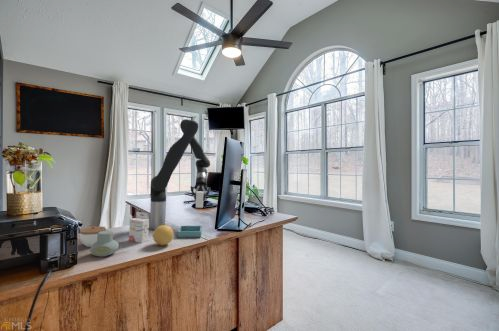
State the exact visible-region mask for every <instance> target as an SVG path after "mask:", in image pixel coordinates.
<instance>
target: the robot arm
mask: <svg viewBox="0 0 499 331" xmlns="http://www.w3.org/2000/svg"><path fill="white" fill-rule="evenodd" d="M179 127H180V130H181V132H182V136H181V137H179V139H178V140H177V141H176V142H174V143H173V144H171V146H170V148H169V149H168V151H167V153H166V155H165V158H164V160H163V164H162V167H161V168H160V170H159V172H158V174H156V176H154V177H152V178H151V180H150V193H149V194H150V195H149V196H150V209H149V210H150V211H149V212H150V213H148V214H149V228H148V230H155V229H156V228H157V227H159V226H161V225H166V211H167V210H166V209H167V195H166V194H167V192H166V188H168V185H169V182H170V180H171V177H172V175H173V173H174V171H175V170H176V168H177V166H178V165H179V163H180V161H181V160H182V157H183V156H184V154H185V152H186V151H187V148H188V146H190V147H191V150H192V152H193V155H194V157H195V159H196V161H195V167H196V176H195V177H196V178H195V185H194V186H190V192H191V195H192V196H193V197H194V198H193V199H194V201H196V192H197V191H202V192H204V194H203V202H204V201H205V200H206V197H208V196H209V194H210V192H211V191H212V190H211V186H207V184H208V183H207V181H208V170H207V168H209V167H210V166H211V163H210V162H211V161H210V160H209V158H208V157H207V155H206V154H205V152H204V150H203V147H202V145H201V143H200V142H199V140H197V138H196V134H197V133H198V131H199V123H198V121H195V120H193V119H188V118H187V119H186V118H185V119H183V120H181V122H180V124H179ZM194 190H195V192H194ZM206 190H207V191H206Z"/></svg>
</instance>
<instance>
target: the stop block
mask: <svg viewBox="0 0 499 331" xmlns="http://www.w3.org/2000/svg"><path fill="white" fill-rule="evenodd" d="M203 194H204V192H202V191H197V192H196V200H195V208H197V209H198V208H200V209H201V208H203V207H204V201H203Z"/></svg>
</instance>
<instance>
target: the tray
mask: <svg viewBox="0 0 499 331" xmlns="http://www.w3.org/2000/svg"><path fill="white" fill-rule="evenodd" d="M202 231H203V225H181V226H180V228H179V230H177V239H185V238H184V237H202Z"/></svg>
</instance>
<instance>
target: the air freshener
mask: <svg viewBox="0 0 499 331" xmlns="http://www.w3.org/2000/svg"><path fill="white" fill-rule="evenodd" d="M113 238H114V231H112V230H111V229H110V230H108V229H106V231H101V232H99V233H98V237H97V242H96V243H94V244H93V245H92V246H91V247H90V249H89V252H90V253H91V254H92V255H93V256H95V257H99V258H104V257H108V256H111V255H113V254H114V253H116V252H117V251H118V250H119V247H120V245H119V242H118V241H117V240H115V239H113Z"/></svg>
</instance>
